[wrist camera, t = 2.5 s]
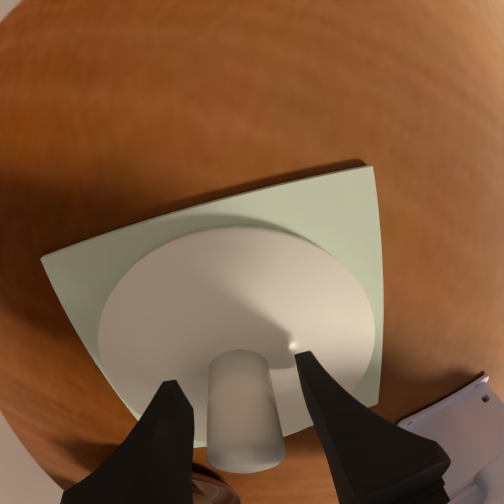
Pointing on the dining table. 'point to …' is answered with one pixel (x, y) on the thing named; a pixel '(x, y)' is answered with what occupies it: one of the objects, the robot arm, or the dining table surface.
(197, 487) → the cup and saucer
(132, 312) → the lid
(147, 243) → the plate
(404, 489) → the robot arm
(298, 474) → the dining table surface
